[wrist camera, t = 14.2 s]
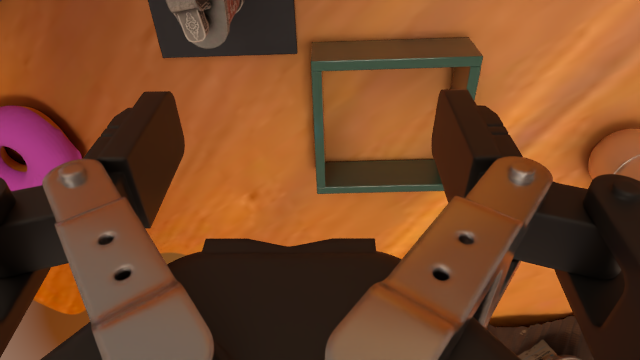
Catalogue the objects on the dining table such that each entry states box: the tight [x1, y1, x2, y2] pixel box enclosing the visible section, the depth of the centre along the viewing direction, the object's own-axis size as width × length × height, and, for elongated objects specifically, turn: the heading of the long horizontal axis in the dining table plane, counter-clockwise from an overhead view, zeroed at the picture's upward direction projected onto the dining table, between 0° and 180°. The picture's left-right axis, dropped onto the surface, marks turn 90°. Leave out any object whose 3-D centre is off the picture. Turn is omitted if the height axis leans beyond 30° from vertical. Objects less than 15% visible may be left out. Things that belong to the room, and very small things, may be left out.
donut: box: [0, 106, 82, 191], centre depth 40 cm, size 10×10×5 cm
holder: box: [311, 37, 483, 194], centre depth 38 cm, size 13×13×4 cm
